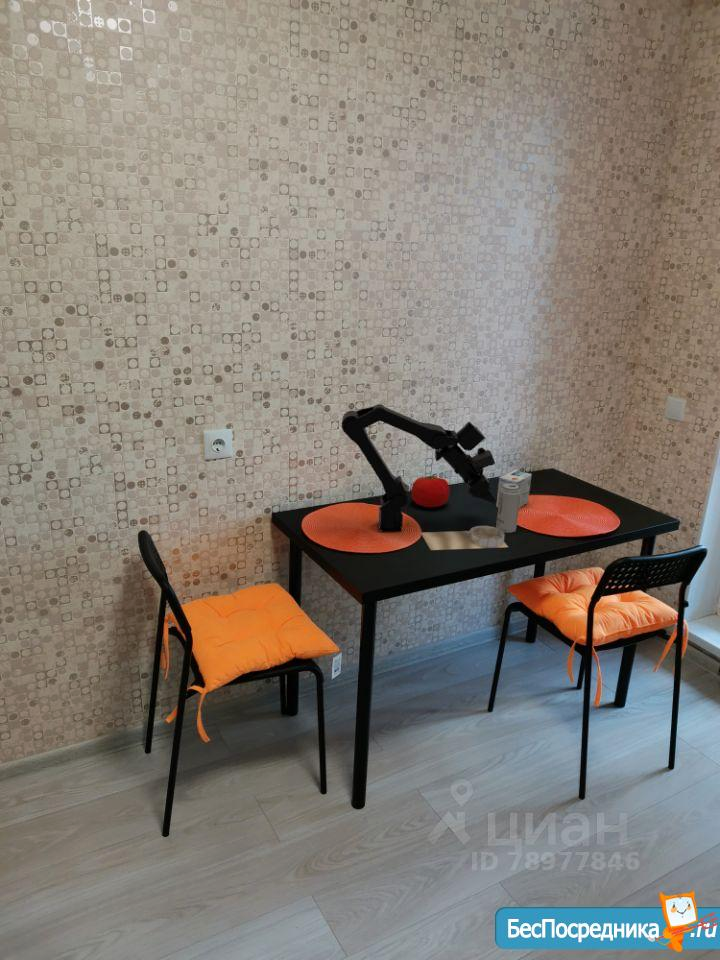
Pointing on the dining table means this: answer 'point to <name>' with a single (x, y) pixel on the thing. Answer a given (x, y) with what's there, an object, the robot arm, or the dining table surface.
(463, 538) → the plate
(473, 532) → the ring clip
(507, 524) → the energy drink can
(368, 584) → the dining table surface
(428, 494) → the tomato
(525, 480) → the light bulb box
